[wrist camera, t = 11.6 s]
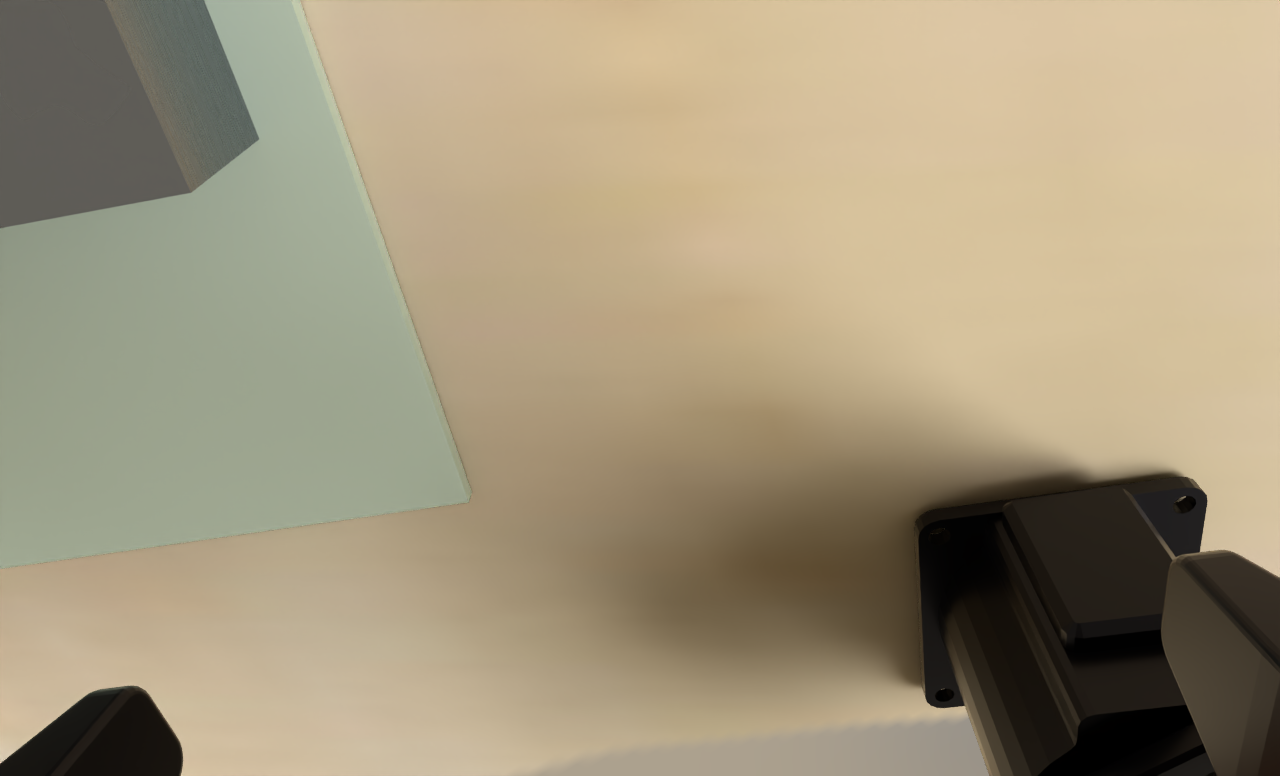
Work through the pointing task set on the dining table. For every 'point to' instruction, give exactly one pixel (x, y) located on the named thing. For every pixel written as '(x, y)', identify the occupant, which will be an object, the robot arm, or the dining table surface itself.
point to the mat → (218, 343)
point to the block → (111, 105)
